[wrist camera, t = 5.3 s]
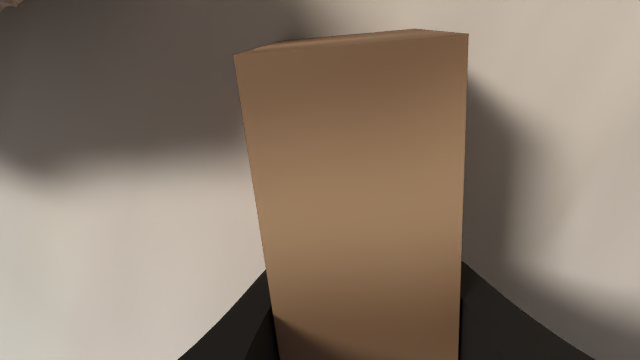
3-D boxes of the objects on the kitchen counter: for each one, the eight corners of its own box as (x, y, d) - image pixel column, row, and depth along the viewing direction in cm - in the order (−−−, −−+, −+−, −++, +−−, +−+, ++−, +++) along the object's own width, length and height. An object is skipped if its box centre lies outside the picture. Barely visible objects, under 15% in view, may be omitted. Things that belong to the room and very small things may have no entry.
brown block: (418, 402, 15) (451, 571, 11) (321, 404, 15) (312, 570, 11) (414, 28, 11) (468, 33, 6) (279, 41, 11) (233, 55, 6)
